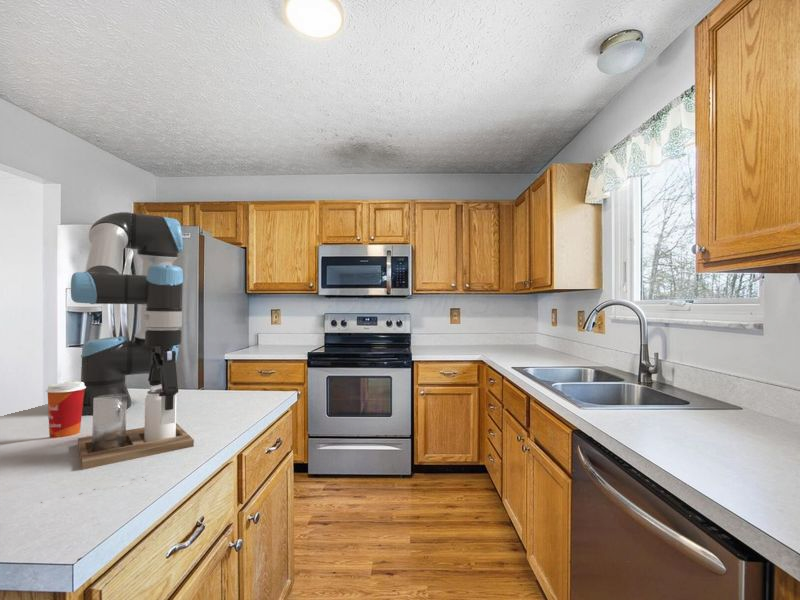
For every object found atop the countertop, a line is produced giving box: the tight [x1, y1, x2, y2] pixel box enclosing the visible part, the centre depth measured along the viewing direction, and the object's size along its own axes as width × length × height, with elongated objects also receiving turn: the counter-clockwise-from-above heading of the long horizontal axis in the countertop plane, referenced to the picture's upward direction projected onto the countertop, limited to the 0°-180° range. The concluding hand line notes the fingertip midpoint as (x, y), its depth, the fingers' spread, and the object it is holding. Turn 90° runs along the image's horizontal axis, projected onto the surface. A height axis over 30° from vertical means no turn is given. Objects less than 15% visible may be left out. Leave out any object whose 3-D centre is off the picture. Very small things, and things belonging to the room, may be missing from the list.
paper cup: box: [45, 381, 86, 439], centre depth 97 cm, size 8×8×14 cm
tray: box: [77, 422, 195, 470], centre depth 89 cm, size 18×20×3 cm
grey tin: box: [91, 394, 128, 452], centre depth 86 cm, size 6×6×12 cm
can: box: [144, 389, 177, 442], centre depth 93 cm, size 6×6×12 cm
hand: (161, 417), depth 93 cm, fingers open, 13 cm apart
